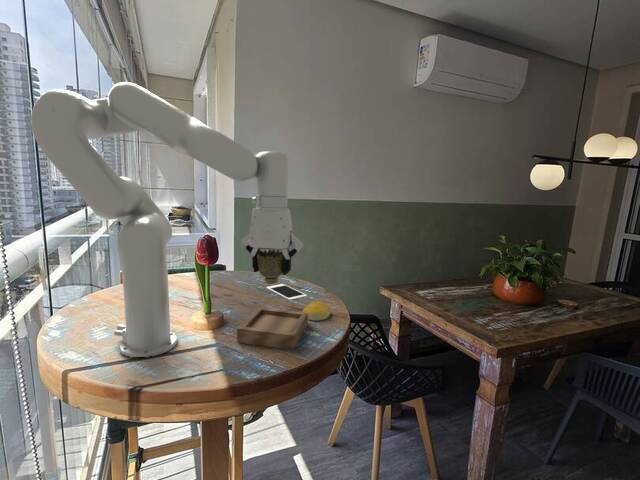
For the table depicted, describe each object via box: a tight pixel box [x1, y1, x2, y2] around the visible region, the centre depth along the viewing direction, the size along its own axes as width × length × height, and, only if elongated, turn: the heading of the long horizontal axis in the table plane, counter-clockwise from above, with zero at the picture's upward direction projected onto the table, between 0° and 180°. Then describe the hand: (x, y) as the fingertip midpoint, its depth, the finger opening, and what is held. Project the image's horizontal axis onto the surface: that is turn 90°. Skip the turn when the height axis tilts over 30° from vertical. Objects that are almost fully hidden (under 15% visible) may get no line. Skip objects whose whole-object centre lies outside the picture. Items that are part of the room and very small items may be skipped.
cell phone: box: [266, 283, 308, 301], centre depth 128 cm, size 8×16×1 cm, turn 39°
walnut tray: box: [236, 306, 309, 351], centre depth 93 cm, size 15×15×4 cm
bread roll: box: [301, 301, 331, 321], centre depth 106 cm, size 8×9×4 cm
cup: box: [257, 249, 285, 285], centre depth 88 cm, size 8×7×8 cm
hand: (271, 271), depth 88 cm, fingers closed on cup, 7 cm apart
